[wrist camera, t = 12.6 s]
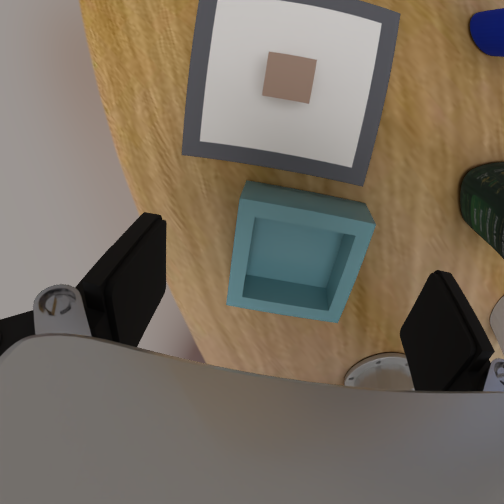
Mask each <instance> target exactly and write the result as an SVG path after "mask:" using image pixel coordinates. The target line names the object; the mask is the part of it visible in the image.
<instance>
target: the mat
mask: <svg viewBox="0 0 504 504" xmlns="http://www.w3.org/2000/svg"><path fill="white" fill-rule="evenodd" d="M217 1H218V0H199V4H198V10H197V17H196V23H195V30H194V37H193V45H192V52H191V60H190V69H189V78H188V87H187V97H186V107H185V118H184V131H183V144H182V155H187V156H195V157H203V158H211V159H218V160H225V161H232V162H239V163H245V164H251V165H257V166H263V167H269V168H275V169H281V170H286V171H292V172H297V173H302V174H307V175H312V176H317V177H322V178H327V179H332V180H336V181H341V182H345V183H350V184H354V185H358V186H363V184H364V181H365V177H366V174H367V170H368V166H369V163H370V159H371V155H372V151H373V147H374V143H375V139H376V135H377V131H378V127H379V123H380V119H381V114H382V110H383V106H384V101H385V96H386V92H387V87H388V82H389V77H390V72H391V67H392V62H393V56H394V51H395V45H396V39H397V33H398V26H399V20H400V13H397V12H394V11H391V10H388V9H385V8H382V7H379V6H376V5H373V4H369V3H366V2H363V1H359V0H281V1H287V2H294V3H300V4H306V5H311V6H316V7H321V8H326V9H330V10H335V11H339V12H343V13H347V14H351V15H354V16H358V17H362V18H365V19H369V20H372V21H375V22H379V23H382V25H381V31H380V37H379V43H378V49H377V54H376V60H375V65H374V71H373V76H372V81H371V86H370V91H369V95H368V100H367V105H366V109H365V114H364V118H363V123H362V127H361V131H360V136H359V140H358V144H357V148H356V152H355V156H354V160H353V164H352V168H351V167H346V166H342V165H337V164H333V163H328V162H324V161H319V160H314V159H309V158H304V157H299V156H294V155H288V154H283V153H277V152H271V151H265V150H259V149H253V148H247V147H240V146H233V145H226V144H218V143H211V142H202V141H200V133H201V123H202V113H203V103H204V94H205V86H206V77H207V69H208V62H209V54H210V47H211V40H212V33H213V26H214V19H215V13H216V7H217Z"/></svg>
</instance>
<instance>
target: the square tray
mask: <svg viewBox="0 0 504 504" xmlns="http://www.w3.org/2000/svg"><path fill="white" fill-rule="evenodd" d="M375 226H376V224H375V221H374V219H373V217H372V215H371V213H370V211H369V210H368V208H367V206H366V204H365V203H361V202H357V201H352V200H348V199H343V198H338V197H334V196H329V195H324V194H319V193H314V192H309V191H304V190H299V189H293V188H288V187H282V186H277V185H271V184H266V183H260V182H254V181H248V180H246V183H245V186H244V188H243V191H242V193H241V196H240V200H239V207H238V215H237V223H236V230H235V238H234V246H233V254H232V262H231V270H230V278H229V287H228V295H227V303H226V305H229V306H235V307H240V308H246V309H252V310H257V311H263V312H269V313H275V314H281V315H288V316H294V317H300V318H307V319H314V320H320V321H327V322H335V323H338V321H339V319H340V316H341V314H342V312H343V309H344V307H345V305H346V302H347V300H348V297H349V295H350V292H351V290H352V287H353V285H354V282H355V280H356V277H357V275H358V272H359V270H360V267H361V264H362V262H363V259H364V256H365V254H366V251H367V248H368V246H369V243H370V240H371V237H372V234H373V231H374V229H375Z"/></svg>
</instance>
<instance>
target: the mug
mask: <svg viewBox="0 0 504 504" xmlns="http://www.w3.org/2000/svg"><path fill="white" fill-rule="evenodd" d="M490 325H491V327H492V330H493V332H494V334H495V336H496V338H497V341H498V343H499V345H500V348H501V350H502V352H503V355H504V296H503V297H502V298H501V299H500V300H499V301H498V303H497V304H496V305H495V307H494V309H493V311H492V314H491V317H490Z"/></svg>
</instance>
